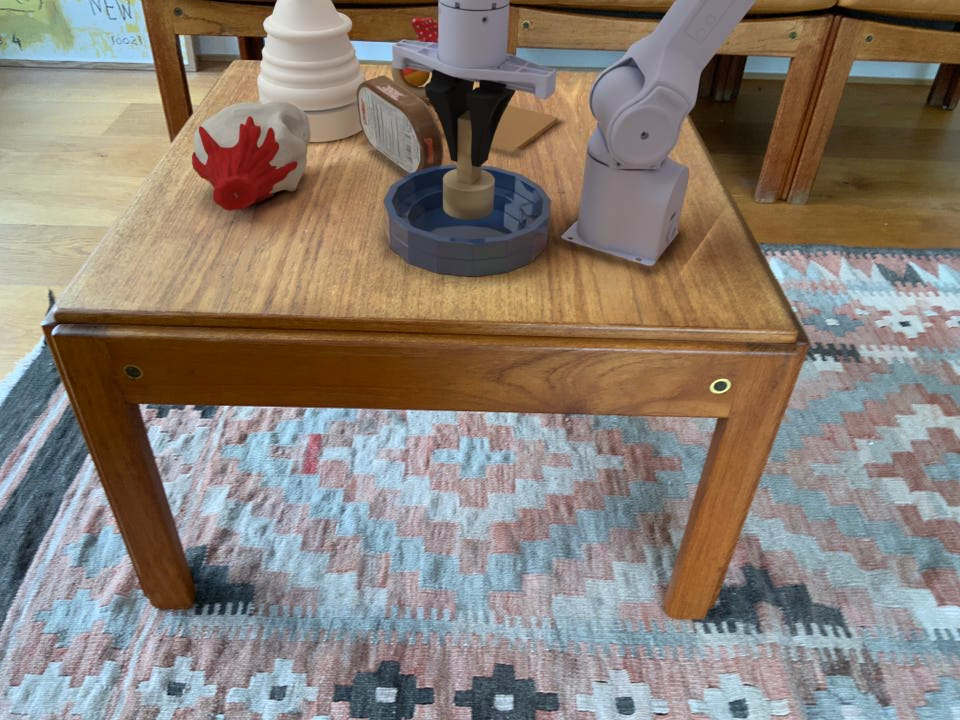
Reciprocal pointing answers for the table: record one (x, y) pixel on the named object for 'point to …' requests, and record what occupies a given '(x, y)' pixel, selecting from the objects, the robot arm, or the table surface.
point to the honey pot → (312, 66)
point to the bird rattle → (414, 77)
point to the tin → (399, 124)
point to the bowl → (466, 224)
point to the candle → (251, 151)
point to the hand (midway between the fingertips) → (469, 159)
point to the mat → (518, 127)
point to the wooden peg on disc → (467, 181)
